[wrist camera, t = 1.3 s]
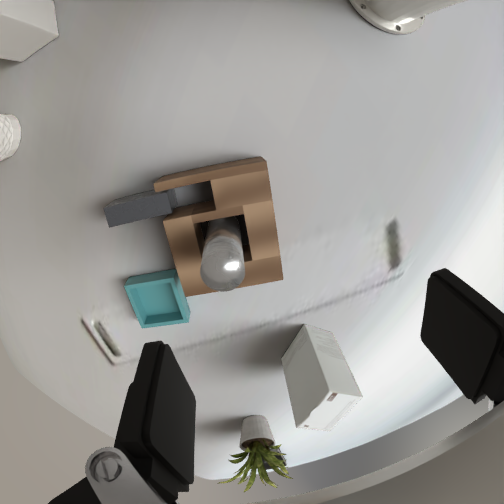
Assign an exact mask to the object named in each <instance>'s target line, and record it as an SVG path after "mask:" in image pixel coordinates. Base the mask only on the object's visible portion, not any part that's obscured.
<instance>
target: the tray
mask: <svg viewBox="0 0 504 504" xmlns="http://www.w3.org/2000/svg"><path fill="white" fill-rule="evenodd" d="M124 287H125V290H126V292H127V295H128V297H129V300H130V302H131V304H132V307H133V309H134V311H135V314H136V316H137V318H138V321H139V323H140V325H141V327H142V328H149V327H157V326H165V325H172V324H179V323H186V322H189V317H190V309H189V306H188V303H187V300H186V297H185V295H184V292H183V289H182V285H181V282H180V279H179V276H178V273H177V269H172V270H166V271H160V272H155V273H149V274H144V275H138V276H133V277H129V278H128V280H127V282H126V284H125V285H124Z"/></svg>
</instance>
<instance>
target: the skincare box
mask: <svg viewBox="0 0 504 504" xmlns="http://www.w3.org/2000/svg"><path fill="white" fill-rule="evenodd" d="M281 360H282V365H283V369H284V374H285V378H286V383H287V387H288V392H289V396H290V401H291V406H292V410H293V415H294V419H295V424H296V428H303V429H312V430H322V431H330V430H332V429H333V428H334V427H335V426H336V425H337V424H338V422H339V421H340V420H341V419H342V418H343V417H344V416H345V415H346V414H347V413H348V412H349V411H350V410H351V409H352V408H353V407H354V406H355V405H356V404H357V403H358V402H359V401H360V400H361V398H362V397H363V396H362V394H361V392H360V389H359V387H358V385H357V383H356V381H355V379H354V376H353V374H352V372H351V370H350V368H349V366H348V364H347V361H346V359H345V357H344V355H343V353H342V351H341V349H340V347H339V344H338V342H337V340H336V338H335V336H334V334H333V333H332V332H329V331H326V330H322V329H319V328H316V327H313V326H310V325H307V324H304V325H303V326H302V328H301V329H300V331H299V333H298V334H297V336H296V337H295V339H294V340H293V342H292V343H291V345H290V346H289V348H288V349H287V351H286V353H285V354H284V356H283V357H282V358H281Z"/></svg>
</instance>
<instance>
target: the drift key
mask: <svg viewBox="0 0 504 504" xmlns="http://www.w3.org/2000/svg"><path fill="white" fill-rule="evenodd" d="M177 204H178V203H177V199H176V195H175V191H174V188H172V189H168V190H163V191H159V192H155V190H151V191H147V192H143V193H139V194H135V195H131V196H128V197H124V198H120V199H116V200H114V201H113V202H111V203H110V204H109V205H107V206H106V207H105V208H103V209H104V212H105V215H106V219H107V222H108V225H109V228H110V227H114V226H118V225H122V224H126V223H130V222H134V221H139V220H143V219H147V218H152V217H156V216H161V215H165V214H170V213H172V212H173V211H174V209H175V207H176V206H177Z"/></svg>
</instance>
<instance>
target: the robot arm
mask: <svg viewBox="0 0 504 504" xmlns="http://www.w3.org/2000/svg"><path fill="white" fill-rule="evenodd" d="M349 1H350V2H351V4H352V5H353V7H354V8H355V9H356V10H357V12H358V13H359V14H360V15H361V16H362V17H363V18H365V19H366V20H367V21H368V22H370V23H371V24H373V25H374V26H375V27H377V28H379V29H381V30H383V31H386V32H389V33H393V34H398V35H405V34H409V33H412V32H414V31H416V30H418V29H419V28H420V27H421V26H422V24H423V23H424V20H425V15H427V14H430V13H433V12H435V11H438V10H441V9H443V8H446V7H449V6H452V5H455V4H458V3H461V2H464V1H467V0H349ZM421 340H422V342H423V343H424V344H425V346H426V347H427V348H428V349H429V350H430V352H431V353H432V354H433V355H434V357H435V358H436V359H437V360H438V362H439V363H440V364H441V365H442V367H443V368H444V369H445V370H446V372H447V373H448V374H449V376H450V377H451V378H452V379H453V381H454V382H455V383H456V385H457V386H458V387H459V389H460V390H461V391H462V392H463V394H464V395H465V396H466V398H468V399H471V400H472V401H473V403H474V404H476V403H478V402H479V401H481V400H482V399H484V398H485V396H486V395H487V396H488V397H489V408H488V412H487V413H486V414H484V415H483V416H481V417H480V418H478V419H477V420H475V421H474V422H472V423H471V424H469V425H468V426H466V427H464V428H463V429H461V430H460V431H458V432H456V433H454V434H453V435H451V436H449V437H447V438H446V439H444V440H442V441H440V442H438V443H436V444H435V445H433V446H431V447H429V448H427V449H425V450H423V451H421V452H419V453H417V454H415V455H413V456H411V457H408V458H406V459H404V460H402V461H399V462H397V463H395V464H393V465H390V466H388V467H385V468H383V469H381V470H378V471H376V472H373V473H370V474H367V475H365V476H361V477H359V478H356V479H353V480H350V481H347V482H343V483H340V484H337V485H334V486H331V487H327V488H323V489H320V490H316V491H312V492H308V493H303V494H300V495H295V496H290V497H285V498H280V499H274V500H268V501H262V502H255V503H248V504H504V313H502V312H501V311H500V310H499V309H498V308H497V307H495V306H494V305H493V304H492V303H490V302H489V301H488V300H487V299H486V298H484V297H483V296H482V295H481V294H479V293H478V292H477V291H475V290H474V289H473V288H472V287H470V286H469V285H468V284H466V283H465V282H464V281H463V280H461V279H460V278H459V277H457V276H456V275H455V274H453V273H452V272H451V271H449V270H448V269H446V268H444V269H441V270H438V271H435V272H433V273H432V274H431V276H430V278H429V279H428V284H427V293H426V301H425V309H424V316H423V322H422V328H421ZM195 412H196V400H195V396H194V394H193V392H192V390H191V388H190V386H189V384H188V382H187V380H186V379H185V377H184V375H183V373H182V371H181V369H180V367H179V365H178V363H177V361H176V359H175V356H174V354H173V352H172V350H171V348H170V346H169V345H168V344H164V343H163V342H162V341H156V342H149V343H145V344H144V347H143V350H142V353H141V357H140V360H139V364H138V367H137V371H136V374H135V378H134V382H132V383H131V384H130V386H129V388H128V392H127V396H126V400H125V403H124V407H123V411H122V415H121V419H120V423H119V427H118V431H117V435H116V440H115V444H114V448H113V447H105V448H101V449H99V450H96V451H95V452H94V453H93V454H91V456H90V457H89V458H88V460H87V463H86V466H85V473H86V476H87V477H85V478H84V479H82V480H81V481H79V482H78V483H77V484H75V485H74V486H72V487H71V488H69V489H68V490H66V491H65V492H63V493H62V494H60V495H59V496H57V497H55V498H54V499H53V500H51V501H50V502H49V503H48V504H180V503H179V502H177V499H178V492H188V491H189V484H192V483H193V481H194V441H195Z"/></svg>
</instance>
